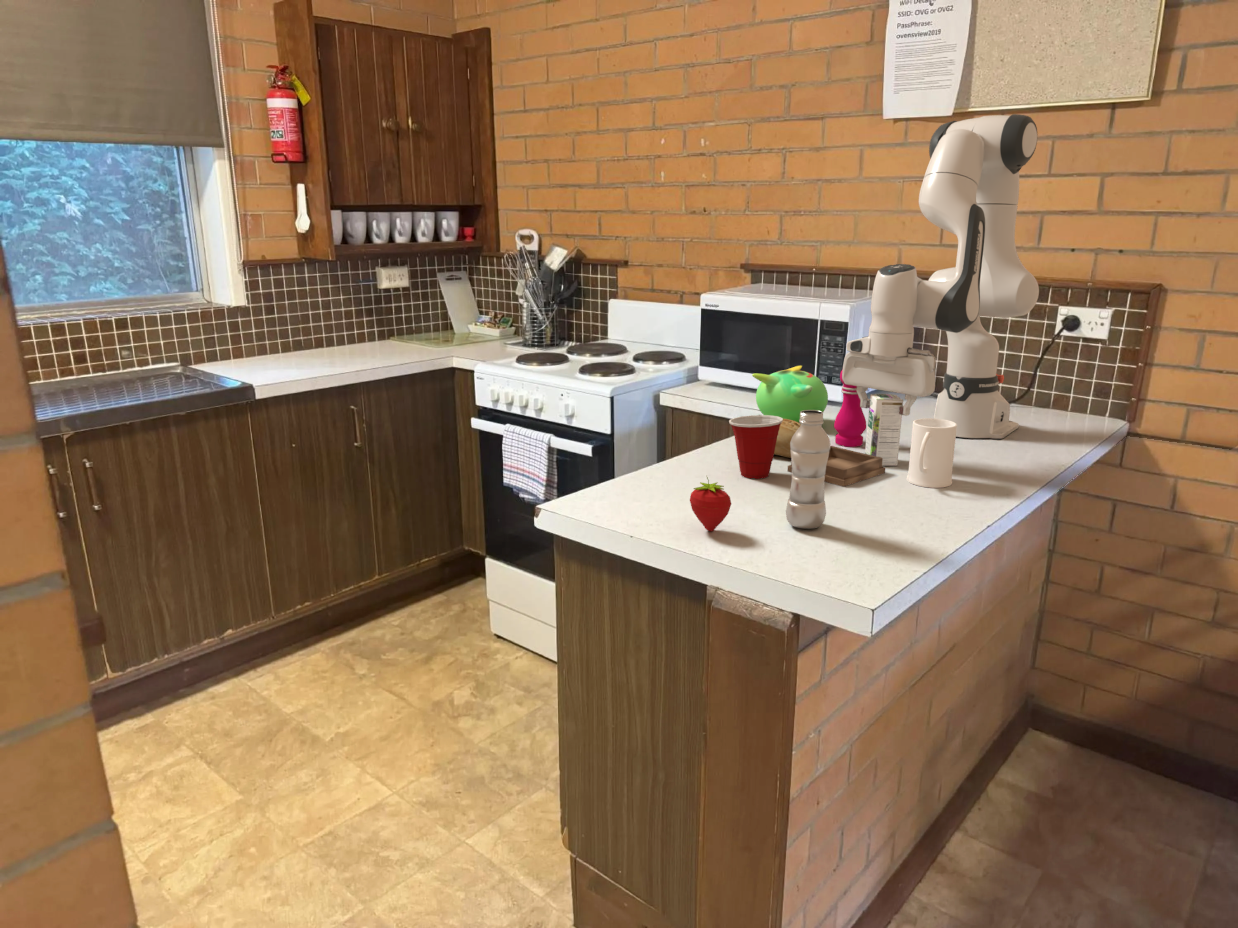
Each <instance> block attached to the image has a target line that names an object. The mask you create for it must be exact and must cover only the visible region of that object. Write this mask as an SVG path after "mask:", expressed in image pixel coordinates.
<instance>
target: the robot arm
mask: <svg viewBox="0 0 1238 928" xmlns="http://www.w3.org/2000/svg"><path fill="white" fill-rule="evenodd" d="M1037 144H1038V127H1037V124H1036V123H1035V121H1034V119H1033V118H1032V117H1031V116H1029V115H1025V114H1017V113H1013V114H1011V115H1004V114H1003V115H1000V114H999V115H998V114H997V115H995V114H994V115H983V116H980V117H974V118H968V119H967V118H966V119H962V120H958V121H957V120H952V121H948V122H945V123H943V124H941V125H939V126H938V127H937V129H936V130H935V131H934V133H932V136H931V138H930V141H929V145H928V146H929V147H928V149H929V150H928V153H929V158H930V160H929V162H928V164H927V167H926V170H925V173H924V176H923V180H922V183H921V186H920V189H919V195H918V207H919V209H920V210H919V211H920V212H921V214H922V215H923V216H924V217H925V219H927V221H928V222H930V223H931V224H933V225H934V226H936V227H937V228H940V229H942V230H944V231H947V232H949V233H951V234H953V235H955V236H956V237H957V253H956V260H955V266H953V267H948V268H943V269H937V270H936V271H934V272H933V273H932V274H931V275H930V277H929V278H928V280H926V279H922V278H920V277H918V274H917V268H916V266H914V265H911V264H905V263H895V264H889V265H886V266H883V267H881V268H880V269H879V270H877V273H876V275H875V278H874V282H873V287H872V295H871V301H870V313H871V321H870V322H871V323H870V325H869V327H868V328H869V329H868V336H864V337H862V336H861V338H858V339H857V338H856V339H853V340H849V341H847V342H846V348H845V349H846V351H848V352H847V353H846V354H845V356H844V359H843V365H842V369H843V371H842V370H841V371H842V379H843V381H844V383H845V384H847V385H853V386H857V393H858V396H859V398H860V400H861V402H860V407H861V408H862V409H869V406H870V398H868V395H867V391H868V389H872V390H878V391H884V392H889V393H895V394H896V393H897V394H903V395H905V396H904V399H905V400H906V401H905V403H904V404H903V406H900V407H899V410H900V411H899V414H900V415H902V416H903V417H907V416H909V415H911V407H912V406H913V405H914V403H915V402H916V401H917V399H918V397H920V398H921V397H922V398H923V397H929V396H931V395H932V394H933V393H935V388H936V372H935V370H936V369H935V368H936V362H937V359H936V356H934V354H933V353H932V352H931V351H930V350H927V349H918V348H913V346H914V335H915V328H914V327H917V328H921V329H922V328H923V329H934V330H936V329H937V330H940V331H943V332H945V333H946V336H947V337H946V338H947V363H946V372H944V375H943V380H942V382H943V383H942V388H943V390H942V391H941V392H939V393H938V395H937V399H936V404H935V409H934V415H933V419H943V420H948V421H952V422H954V423H956V424H957V429H956V437H957V438H958V437H959V438H965V439H967V438H968V439H997V440H998V439H1004V438H1006V437H1007V436H1008V435H1010V434H1011V433H1013V432H1014V431H1016V430H1018V428H1019V427H1020V425H1019V423H1018V422H1016V421H1012V420H1010V416H1011V415H1010V413H1011V406H1010V405H1011V404H1010V403H1009V402H1008V401H1007V400H1006V399H1005V397H1004V396H1003V395H1002V394H1001V392H1000V391H999V384H1003V383H1004V380H1005V375H1004V374H998V373H997V369H998V363H999V362H998V360H999V353H1000V344H999V342H998V339H997V338H996V337H995V336H994V335H993V334H991V333H989V332H988V331H987V330H986V329H985V328H984V327H983V325H982V323H981V317H987V318H988V317H989V318H1001V319H1005V318H1006V319H1007V318H1014V317H1015V318H1017V317H1021V316H1027V314H1029V313H1030V312H1031V311H1032V310H1033V309H1034V307H1035V306H1036V304H1037V301H1038V299H1039V296H1040V295H1039V294H1040V288H1039V284H1038V281H1037V279H1036V278H1035V276H1034V275H1033V274H1032V273H1031V272H1030V271H1029V270H1028V269H1027V268H1026V267H1025V266H1024V264H1023V263H1022V261H1021V260H1020V257H1019V254H1018V251H1017V247H1016V238H1015V237H1016V224H1017V223H1016V221H1017V214H1018V213H1017V212H1018V205H1019V198H1020V197H1019V196H1020V170H1022V168H1023V167H1024V166H1026V164H1027V163H1029V161H1030V160H1031V158H1033V155H1034V154H1035V151H1036V148H1037Z"/></svg>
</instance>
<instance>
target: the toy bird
mask: <svg viewBox="0 0 1238 928" xmlns="http://www.w3.org/2000/svg"><path fill="white" fill-rule="evenodd" d="M802 367H803V365H796V366H794V367H791V368H790V367H789V368H788V369H784V370H782V369H781V370H778V371H776V372H773V373H770V374H765V373H757V372H756V373H752V375H751V376H752V377H753V378H754V379H756V380H757V381H759V382H760V383H759V385H758V387H757V389H756V393H755V401H756V405H757V407H758V409H759V411H760V412H761V413H762V414H761V415H771V416H778V417H781V418H783V419H789V420H793V421H796V422H798V423H799V419H800V412H801V411H803V410H818V411H822V412H823V413H825V410H826V409H827V406H828V401H829V394H828V390H827V387H826V385H825V384H824V382H823V381H822V380H821V379H820V378H819V377H818V376H816V375H815V374H812V373H811V372H808V371H805V370H801V369H802ZM799 424H800V423H799Z"/></svg>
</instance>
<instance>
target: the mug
mask: <svg viewBox="0 0 1238 928" xmlns="http://www.w3.org/2000/svg"><path fill="white" fill-rule="evenodd" d="M956 429H957V424H956V423H954V422H952V421H948V420H943V419H934V418H931V417H930V418H917V419H915V420H913V421H912V430H911V441H910V450H909V453H910V454H909V463H908V472H907V476H906V481H907V482H908V483H910V484H912V485H913V486H917V487H923V488H930V489H941V488H947V487H951V485H952V484H953V475H952V474H953V468H954V467H953V465H954V458H955V457H954V456H955V448H956V445H955V444H956Z"/></svg>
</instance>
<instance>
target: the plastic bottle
mask: <svg viewBox="0 0 1238 928" xmlns="http://www.w3.org/2000/svg"><path fill="white" fill-rule="evenodd" d="M799 423H800V424H801V426H800V427H799V429H798V430H797V431H796V432H795V434H794V435H793V437H792V439H791V442H790V448H791V458H790V460H791V461H792V472H791V483H790V491H789V496H788V500H787V504H786V509H785V515H786V521H787V522H788V523H789V525H790V526H792V527H794V528H798V529H802V530H803V529H805V530H807V529H810V530H811V529H812V530H813V529H816V528H819V527H821V526H822V525H823V524H824V522H825V520H826V516H827V510H826V509H827V507H826V501H825V482H824V480H825V472H826V465H827V460H828V456H829V450H830V446H832V445H831V440H830V437H829V435H828V433H827V432H826V430H825V429H824V428H823V426H822V425H823V424H824V412H822V411H818V410H803V411H801V412H800V419H799Z"/></svg>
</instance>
